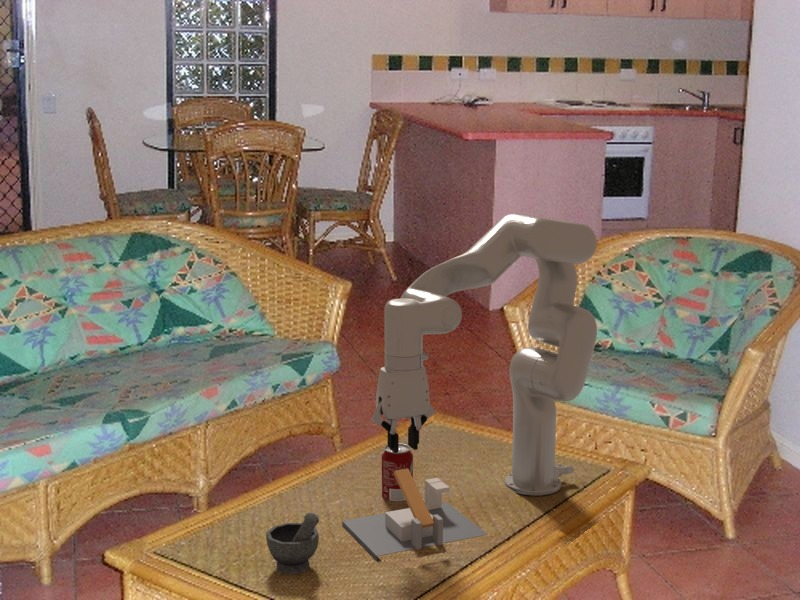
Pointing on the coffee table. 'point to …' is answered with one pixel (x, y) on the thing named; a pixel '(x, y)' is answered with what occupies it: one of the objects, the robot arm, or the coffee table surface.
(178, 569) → the coffee table surface
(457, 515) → the board
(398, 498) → the soda can
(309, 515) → the mortar and pestle
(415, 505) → the strap
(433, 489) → the block
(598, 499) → the coffee table surface
